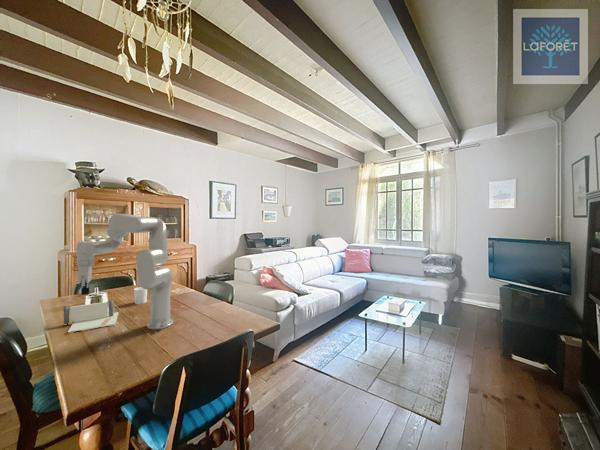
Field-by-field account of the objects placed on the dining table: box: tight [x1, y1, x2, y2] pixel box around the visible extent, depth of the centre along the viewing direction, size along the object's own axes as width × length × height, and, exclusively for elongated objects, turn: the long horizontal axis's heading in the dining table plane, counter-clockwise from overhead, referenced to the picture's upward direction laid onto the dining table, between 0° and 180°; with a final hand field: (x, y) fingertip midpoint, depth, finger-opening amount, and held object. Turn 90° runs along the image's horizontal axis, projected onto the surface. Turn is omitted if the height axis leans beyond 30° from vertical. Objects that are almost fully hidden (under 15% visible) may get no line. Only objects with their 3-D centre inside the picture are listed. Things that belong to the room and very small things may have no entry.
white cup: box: [133, 286, 148, 305], centre depth 166 cm, size 8×8×10 cm
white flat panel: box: [69, 301, 108, 323], centre depth 135 cm, size 16×1×8 cm, turn 122°
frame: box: [63, 299, 119, 332], centre depth 132 cm, size 19×23×10 cm
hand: (85, 294), depth 139 cm, fingers closed
